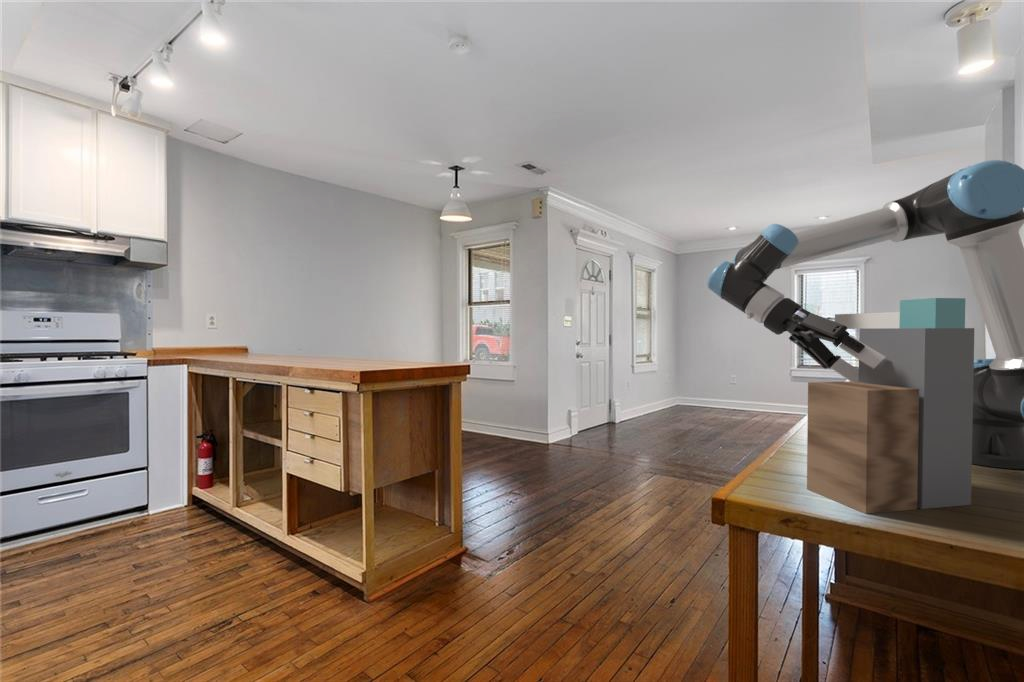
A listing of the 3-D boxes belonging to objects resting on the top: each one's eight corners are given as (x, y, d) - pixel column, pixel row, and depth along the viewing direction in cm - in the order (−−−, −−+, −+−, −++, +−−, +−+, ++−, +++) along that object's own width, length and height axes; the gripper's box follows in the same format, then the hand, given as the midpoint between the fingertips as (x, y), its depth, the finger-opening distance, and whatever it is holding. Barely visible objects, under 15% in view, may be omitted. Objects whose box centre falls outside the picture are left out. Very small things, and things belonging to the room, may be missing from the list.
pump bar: (853, 328, 99) (853, 305, 99) (964, 328, 79) (965, 298, 79) (828, 328, 98) (828, 304, 98) (935, 328, 78) (935, 297, 78)
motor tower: (900, 482, 92) (903, 328, 91) (970, 504, 80) (974, 328, 79) (857, 485, 90) (859, 328, 89) (922, 508, 78) (925, 328, 77)
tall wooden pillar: (852, 485, 90) (854, 381, 89) (917, 509, 78) (919, 389, 77) (806, 489, 88) (808, 382, 87) (865, 513, 76) (867, 390, 76)
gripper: (761, 342, 112) (848, 402, 100) (761, 300, 91) (870, 369, 79) (784, 319, 111) (874, 377, 100) (789, 271, 90) (903, 337, 79)
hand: (873, 374), depth 89 cm, fingers open, 13 cm apart
